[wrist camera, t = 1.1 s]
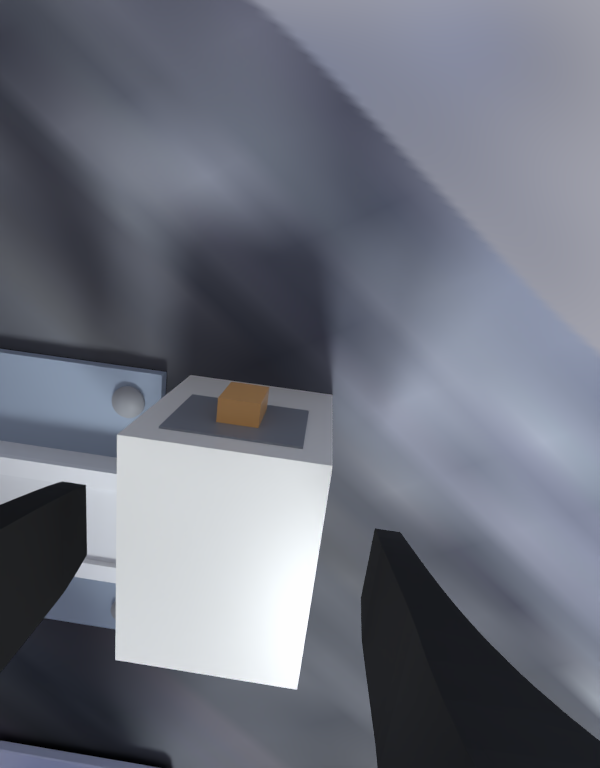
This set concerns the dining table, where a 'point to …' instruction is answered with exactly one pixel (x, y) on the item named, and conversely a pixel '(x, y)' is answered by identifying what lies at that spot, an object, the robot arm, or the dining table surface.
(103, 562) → the rail panel
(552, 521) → the dining table surface
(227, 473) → the module
